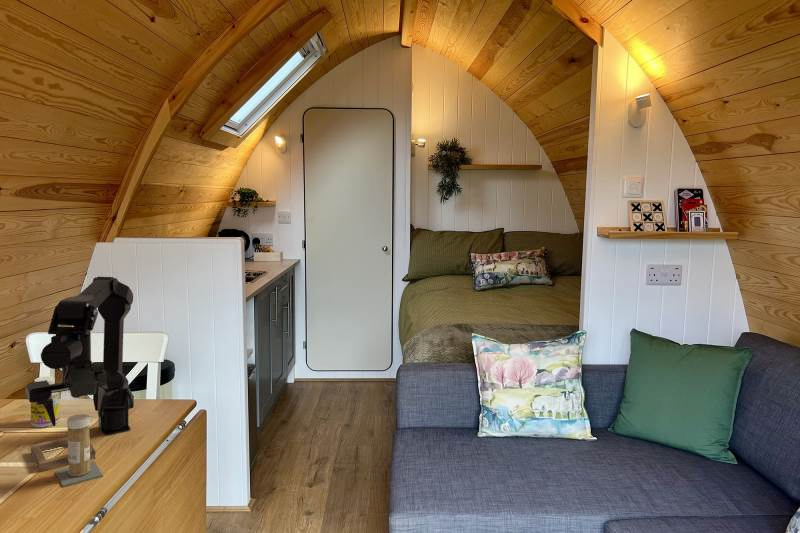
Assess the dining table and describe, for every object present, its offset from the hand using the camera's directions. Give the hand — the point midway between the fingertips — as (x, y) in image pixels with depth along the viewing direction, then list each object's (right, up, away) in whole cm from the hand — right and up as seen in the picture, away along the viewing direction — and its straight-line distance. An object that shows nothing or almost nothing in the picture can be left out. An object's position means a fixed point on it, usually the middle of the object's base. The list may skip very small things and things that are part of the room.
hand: (77, 421), depth 125 cm
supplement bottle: (-25, -8, +27) cm, 37 cm away
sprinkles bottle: (0, -13, +2) cm, 13 cm away
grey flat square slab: (0, -13, +2) cm, 13 cm away
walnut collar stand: (-9, -11, +10) cm, 18 cm away
